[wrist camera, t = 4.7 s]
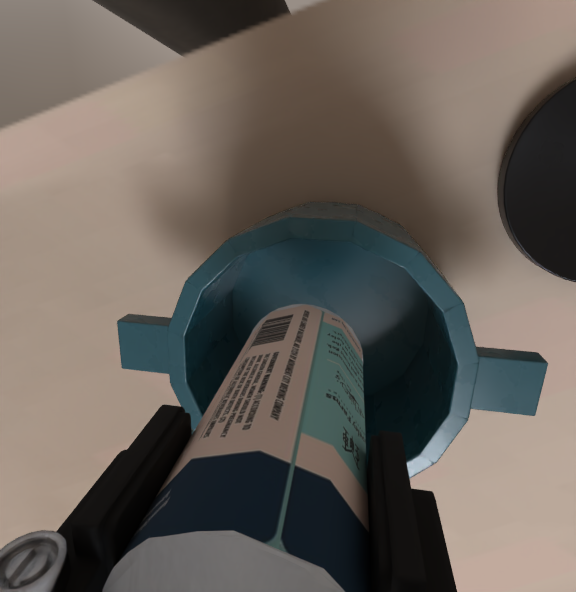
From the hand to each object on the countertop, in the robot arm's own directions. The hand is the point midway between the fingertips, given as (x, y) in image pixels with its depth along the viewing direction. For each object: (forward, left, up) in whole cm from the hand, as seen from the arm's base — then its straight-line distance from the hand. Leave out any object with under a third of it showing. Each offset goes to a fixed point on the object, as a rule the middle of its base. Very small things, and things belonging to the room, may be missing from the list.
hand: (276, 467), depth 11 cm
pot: (0, 0, -14) cm, 14 cm away
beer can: (0, 0, -7) cm, 7 cm away
